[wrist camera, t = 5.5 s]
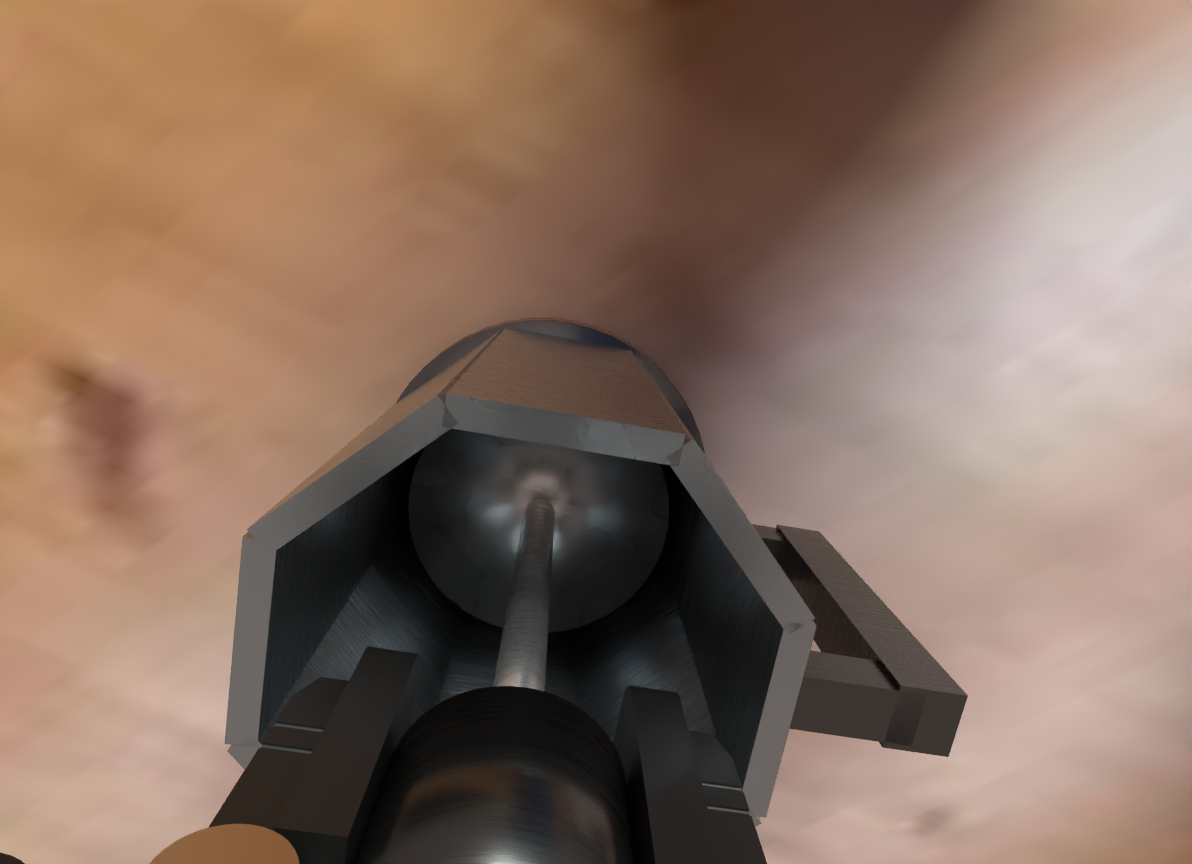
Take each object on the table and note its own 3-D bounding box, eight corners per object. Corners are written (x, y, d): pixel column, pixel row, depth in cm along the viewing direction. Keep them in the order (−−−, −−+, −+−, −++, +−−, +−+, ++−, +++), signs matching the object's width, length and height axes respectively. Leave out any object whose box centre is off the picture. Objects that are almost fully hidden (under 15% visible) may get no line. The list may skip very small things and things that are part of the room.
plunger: (688, 404, 20) (960, 743, 6) (639, 635, 22) (768, 1340, 8) (432, 359, 20) (88, 614, 6) (399, 599, 21) (60, 1280, 7)
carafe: (821, 365, 23) (1070, 473, 11) (749, 654, 25) (901, 988, 14) (406, 290, 22) (231, 327, 11) (368, 596, 24) (185, 901, 13)
